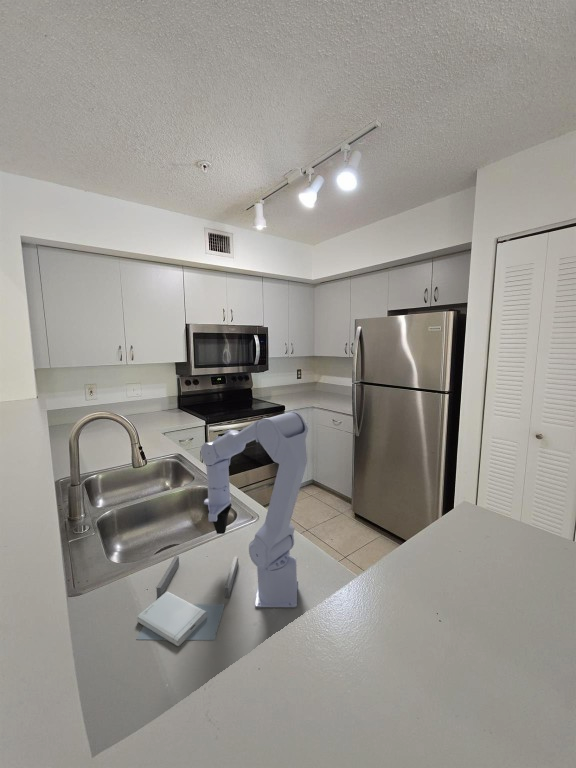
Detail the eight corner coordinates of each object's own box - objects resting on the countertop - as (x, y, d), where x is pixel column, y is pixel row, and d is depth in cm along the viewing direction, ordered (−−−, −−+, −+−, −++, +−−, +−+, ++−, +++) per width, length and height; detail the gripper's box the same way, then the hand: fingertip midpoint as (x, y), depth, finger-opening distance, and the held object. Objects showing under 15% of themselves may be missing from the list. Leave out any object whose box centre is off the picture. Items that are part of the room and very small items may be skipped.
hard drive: (136, 615, 69) (177, 640, 63) (167, 590, 76) (206, 609, 70) (137, 622, 70) (177, 647, 63) (168, 596, 77) (207, 616, 71)
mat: (224, 605, 74) (224, 604, 74) (214, 641, 65) (214, 640, 65) (155, 605, 74) (155, 604, 74) (136, 640, 66) (136, 639, 66)
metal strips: (238, 564, 87) (238, 556, 87) (229, 597, 76) (228, 587, 76) (175, 564, 88) (175, 556, 88) (157, 597, 76) (156, 587, 76)
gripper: (211, 474, 94) (213, 518, 95) (195, 497, 79) (198, 549, 81) (235, 473, 93) (237, 518, 95) (223, 497, 79) (226, 549, 81)
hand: (221, 532), depth 88 cm, fingers closed
